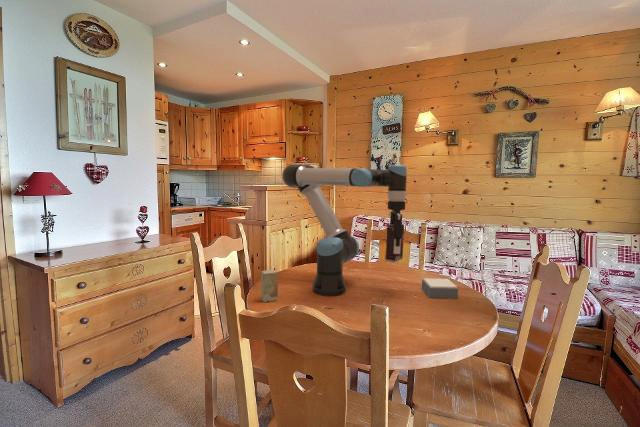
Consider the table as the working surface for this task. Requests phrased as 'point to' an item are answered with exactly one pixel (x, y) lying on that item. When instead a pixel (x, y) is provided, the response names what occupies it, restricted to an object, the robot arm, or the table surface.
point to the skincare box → (269, 285)
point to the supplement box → (390, 244)
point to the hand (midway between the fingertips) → (394, 250)
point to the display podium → (439, 288)
